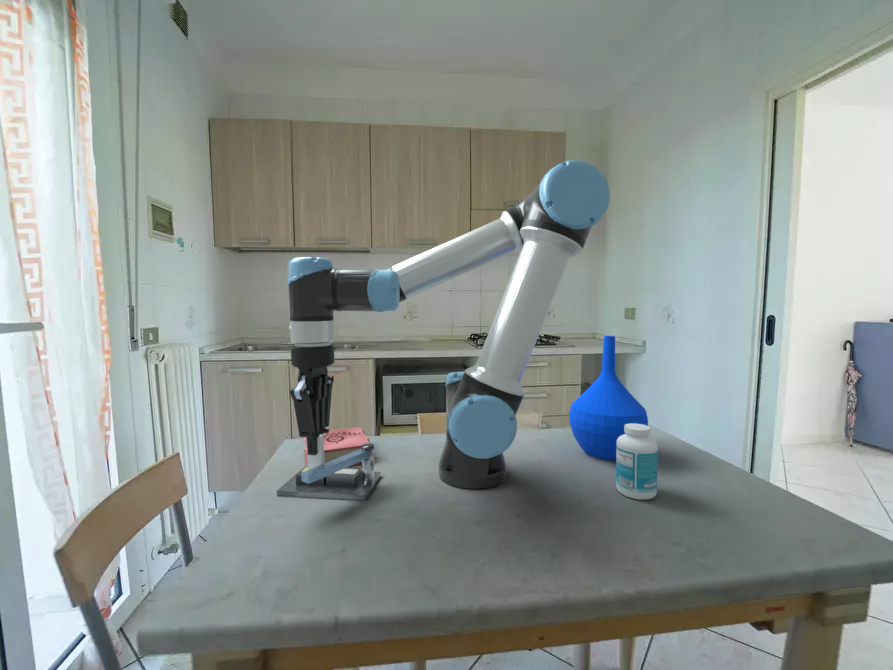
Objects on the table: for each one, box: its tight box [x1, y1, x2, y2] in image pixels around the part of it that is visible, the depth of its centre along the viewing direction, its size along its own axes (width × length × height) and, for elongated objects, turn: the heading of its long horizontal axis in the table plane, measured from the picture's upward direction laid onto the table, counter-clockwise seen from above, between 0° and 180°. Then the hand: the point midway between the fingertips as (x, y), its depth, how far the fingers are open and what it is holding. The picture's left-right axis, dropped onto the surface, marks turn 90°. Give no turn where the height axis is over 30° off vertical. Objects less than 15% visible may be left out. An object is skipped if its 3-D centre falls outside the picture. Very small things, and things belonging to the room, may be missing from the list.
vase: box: [568, 335, 649, 462], centre depth 99 cm, size 18×18×30 cm
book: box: [303, 426, 373, 467], centre depth 99 cm, size 14×15×5 cm
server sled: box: [276, 455, 382, 501], centre depth 83 cm, size 18×11×6 cm, turn 83°
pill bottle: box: [615, 423, 659, 501], centre depth 79 cm, size 8×7×14 cm
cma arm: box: [301, 442, 375, 484], centre depth 76 cm, size 16×3×2 cm, turn 145°
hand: (316, 469), depth 74 cm, fingers closed
